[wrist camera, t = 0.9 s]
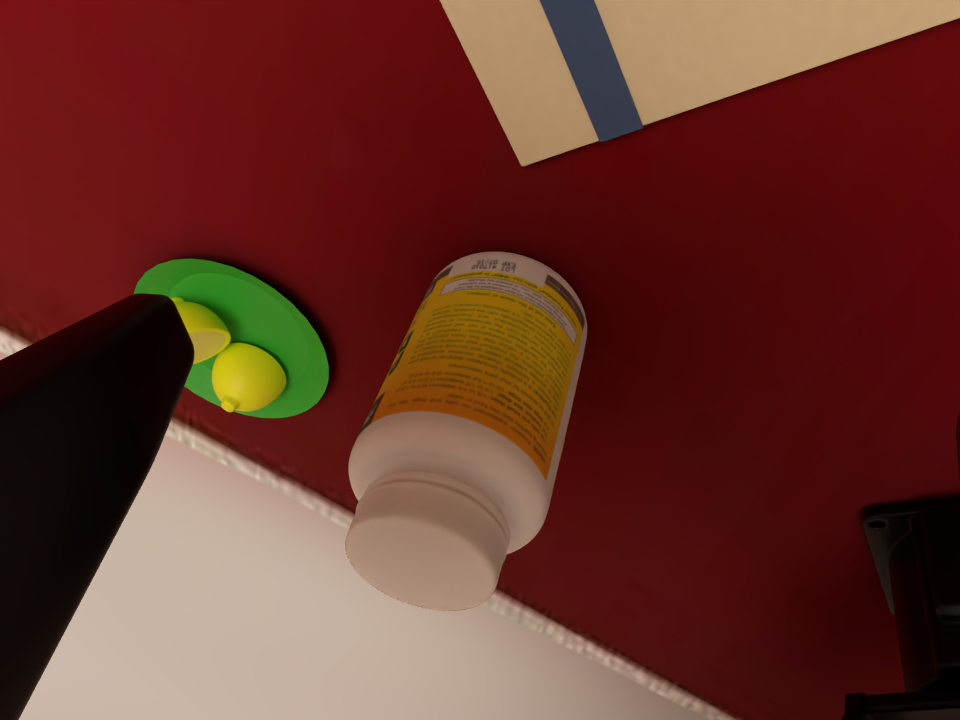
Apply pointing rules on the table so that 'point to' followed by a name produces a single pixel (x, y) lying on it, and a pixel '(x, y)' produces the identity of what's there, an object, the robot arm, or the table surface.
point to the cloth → (654, 56)
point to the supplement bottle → (466, 432)
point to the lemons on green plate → (243, 339)
